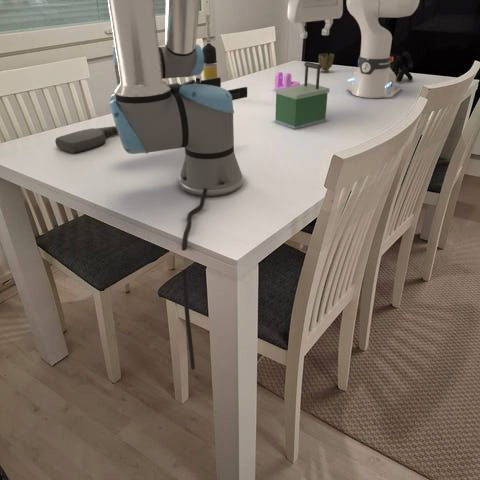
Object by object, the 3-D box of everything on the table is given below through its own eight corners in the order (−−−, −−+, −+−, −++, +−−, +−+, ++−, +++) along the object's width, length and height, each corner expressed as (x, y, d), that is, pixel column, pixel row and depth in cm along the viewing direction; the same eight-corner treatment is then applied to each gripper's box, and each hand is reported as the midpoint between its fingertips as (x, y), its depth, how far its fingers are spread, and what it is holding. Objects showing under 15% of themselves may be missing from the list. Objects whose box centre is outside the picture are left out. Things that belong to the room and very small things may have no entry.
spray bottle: (53, 147, 134) (120, 127, 150) (74, 154, 128) (141, 133, 144) (51, 137, 132) (118, 118, 149) (72, 145, 126) (140, 124, 143)
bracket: (286, 91, 186) (286, 74, 182) (275, 89, 189) (275, 72, 185) (302, 85, 195) (302, 68, 191) (291, 83, 197) (291, 67, 194)
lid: (308, 86, 154) (310, 59, 149) (329, 92, 147) (331, 63, 142) (276, 93, 147) (276, 65, 142) (296, 99, 140) (297, 70, 135)
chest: (305, 114, 158) (306, 87, 153) (325, 121, 152) (327, 92, 147) (275, 121, 152) (276, 93, 147) (294, 129, 145) (296, 99, 140)
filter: (220, 99, 177) (217, 15, 161) (206, 100, 176) (202, 16, 160) (215, 96, 182) (212, 14, 166) (202, 97, 180) (197, 14, 164)
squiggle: (400, 92, 202) (376, 71, 205) (417, 76, 202) (392, 56, 205) (405, 81, 191) (380, 59, 194) (423, 64, 191) (397, 42, 194)
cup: (315, 72, 216) (316, 55, 212) (320, 69, 222) (321, 52, 218) (330, 73, 213) (331, 56, 209) (334, 71, 219) (336, 53, 215)
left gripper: (149, 102, 131) (210, 90, 141) (192, 125, 114) (258, 110, 124) (146, 76, 127) (209, 65, 137) (190, 95, 110) (258, 82, 120)
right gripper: (334, -16, 140) (330, 32, 147) (285, -13, 130) (283, 38, 137) (350, -16, 135) (345, 34, 143) (299, -13, 125) (297, 41, 133)
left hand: (232, 86), depth 131 cm, fingers open, 13 cm apart
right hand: (314, 36), depth 140 cm, fingers open, 8 cm apart
